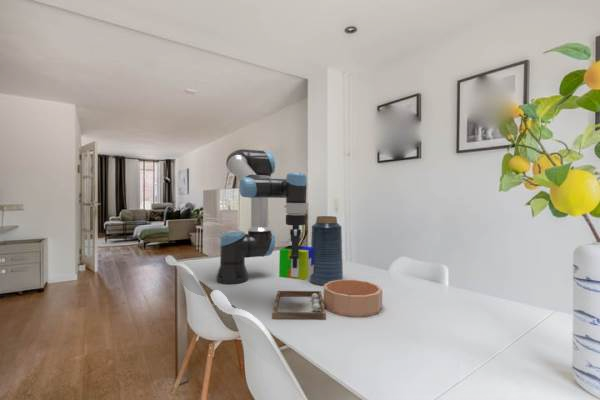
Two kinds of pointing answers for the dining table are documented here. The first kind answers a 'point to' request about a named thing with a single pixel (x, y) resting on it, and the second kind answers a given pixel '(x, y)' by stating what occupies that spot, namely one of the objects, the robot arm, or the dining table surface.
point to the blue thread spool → (326, 250)
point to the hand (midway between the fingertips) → (294, 272)
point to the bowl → (352, 298)
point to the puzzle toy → (304, 262)
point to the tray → (298, 314)
